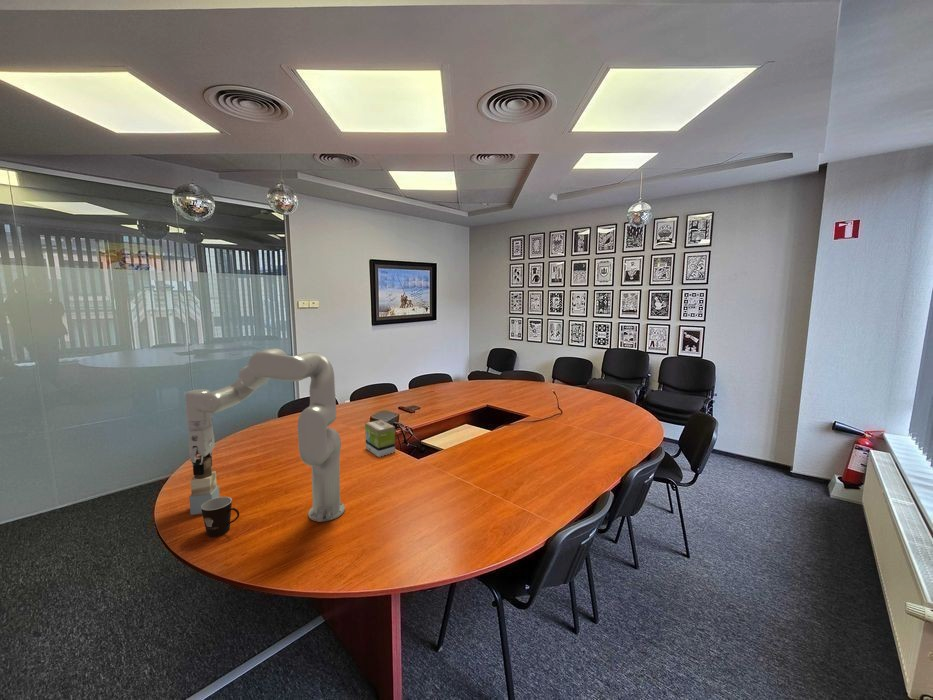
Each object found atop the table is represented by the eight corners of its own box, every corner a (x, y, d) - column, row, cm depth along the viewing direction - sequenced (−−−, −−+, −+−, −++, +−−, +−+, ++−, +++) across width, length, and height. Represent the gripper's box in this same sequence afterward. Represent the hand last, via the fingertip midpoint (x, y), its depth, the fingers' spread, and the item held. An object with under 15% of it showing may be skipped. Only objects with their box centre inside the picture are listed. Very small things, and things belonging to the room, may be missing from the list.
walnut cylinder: (208, 478, 135) (207, 462, 134) (192, 479, 133) (191, 463, 133) (214, 471, 140) (213, 456, 139) (198, 473, 138) (197, 457, 138)
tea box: (364, 449, 198) (364, 422, 196) (381, 444, 205) (381, 419, 203) (378, 458, 187) (378, 429, 185) (395, 453, 194) (395, 425, 192)
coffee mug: (198, 533, 123) (196, 504, 122) (226, 521, 130) (224, 494, 129) (214, 546, 117) (212, 516, 116) (242, 532, 124) (241, 504, 123)
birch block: (210, 493, 135) (209, 478, 134) (191, 495, 133) (190, 480, 133) (216, 486, 141) (215, 471, 140) (198, 488, 139) (197, 472, 138)
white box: (212, 512, 135) (211, 494, 135) (190, 515, 134) (189, 496, 133) (219, 502, 142) (218, 485, 141) (198, 505, 140) (197, 487, 140)
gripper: (201, 430, 127) (204, 480, 129) (220, 416, 143) (223, 460, 145) (176, 432, 125) (179, 482, 127) (198, 417, 142) (201, 462, 144)
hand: (203, 470), depth 136 cm, fingers open, 6 cm apart
